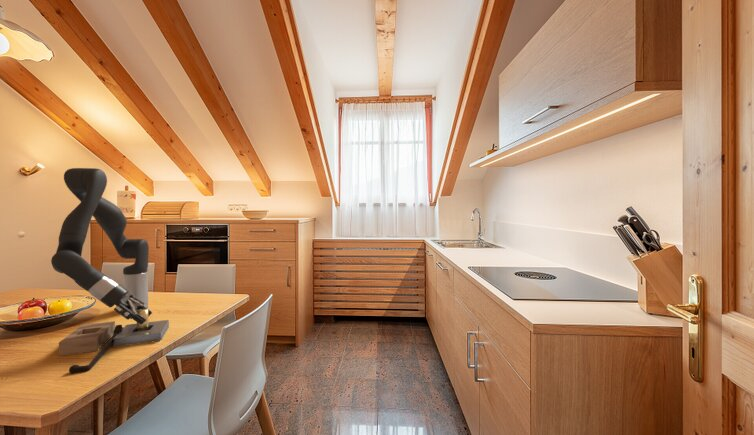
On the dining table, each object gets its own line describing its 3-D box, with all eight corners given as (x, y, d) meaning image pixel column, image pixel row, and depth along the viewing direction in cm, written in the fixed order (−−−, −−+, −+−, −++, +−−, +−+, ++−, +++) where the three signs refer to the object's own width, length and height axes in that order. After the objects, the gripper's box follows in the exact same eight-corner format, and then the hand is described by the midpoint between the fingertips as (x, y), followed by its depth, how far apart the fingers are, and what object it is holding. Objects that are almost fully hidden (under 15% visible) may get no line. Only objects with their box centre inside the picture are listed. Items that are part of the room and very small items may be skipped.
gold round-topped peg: (138, 335, 123) (138, 309, 122) (150, 333, 124) (149, 308, 124) (135, 339, 119) (135, 312, 119) (147, 337, 121) (146, 311, 120)
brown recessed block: (82, 336, 121) (82, 324, 121) (115, 332, 125) (115, 321, 125) (59, 356, 106) (58, 342, 106) (97, 350, 110) (97, 337, 109)
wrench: (67, 381, 95) (109, 335, 122) (89, 378, 96) (125, 334, 124) (67, 364, 94) (109, 321, 122) (89, 362, 96) (126, 320, 124)
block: (126, 332, 125) (126, 324, 125) (168, 327, 131) (168, 319, 131) (113, 347, 113) (113, 338, 112) (161, 340, 118) (160, 332, 118)
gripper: (110, 288, 111) (150, 316, 116) (123, 279, 125) (159, 305, 129) (91, 305, 110) (133, 333, 115) (107, 294, 123) (144, 320, 128)
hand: (147, 318), depth 122 cm, fingers open, 8 cm apart
